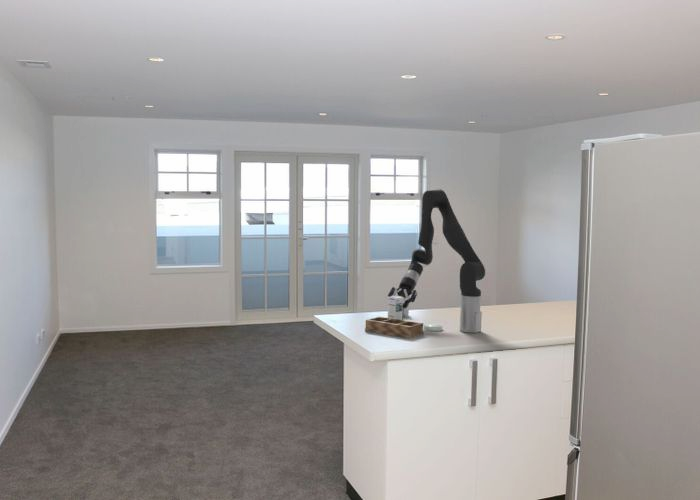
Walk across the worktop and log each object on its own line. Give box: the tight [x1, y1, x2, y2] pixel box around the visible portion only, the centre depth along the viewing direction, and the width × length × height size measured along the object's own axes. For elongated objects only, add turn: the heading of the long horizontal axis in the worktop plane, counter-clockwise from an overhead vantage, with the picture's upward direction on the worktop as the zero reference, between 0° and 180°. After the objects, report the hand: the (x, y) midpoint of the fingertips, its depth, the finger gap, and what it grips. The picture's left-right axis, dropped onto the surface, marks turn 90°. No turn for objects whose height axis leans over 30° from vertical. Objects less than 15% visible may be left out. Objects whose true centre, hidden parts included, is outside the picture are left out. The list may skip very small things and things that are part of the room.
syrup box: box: [387, 296, 405, 320], centre depth 330 cm, size 6×6×14 cm
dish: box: [423, 323, 444, 332], centre depth 324 cm, size 9×9×2 cm
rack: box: [364, 316, 424, 339], centre depth 314 cm, size 24×13×5 cm, turn 54°
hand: (396, 306), depth 330 cm, fingers open, 8 cm apart
